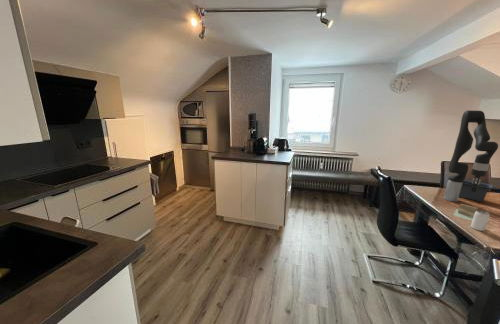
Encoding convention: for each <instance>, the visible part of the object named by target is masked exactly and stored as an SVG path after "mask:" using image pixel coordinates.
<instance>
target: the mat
mask: <svg viewBox="0 0 500 324" xmlns="http://www.w3.org/2000/svg"><path fill="white" fill-rule="evenodd" d="M458 210H459V208H456V209H455V211H454V213H453V215H452V216H453V217H458V218H460V219H465V220H469V221H471V222H472V220H473V217H472V216H468V215H464V214H461V213H458Z"/></svg>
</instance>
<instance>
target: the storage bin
mask: <svg viewBox="0 0 500 324" xmlns="http://www.w3.org/2000/svg"><path fill="white" fill-rule="evenodd" d="M472 182H473V180H468V179H464V181H463V185H462V188H461V192H460V195H459V198H463V199H467V200H472V201H475V202H476V201H477V202H479V203H481V202H482V203H483V202H484V200H485V199H486V196H487V194H488V191H490V190H491V189H492V188H493V185H492V184H489V183H486V182H485V183H484V182H480V183H479V185H478V187H477V189H476V192H472V191H471V190H472V185H473V184H472Z"/></svg>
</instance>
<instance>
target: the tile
mask: <svg viewBox="0 0 500 324" xmlns="http://www.w3.org/2000/svg"><path fill="white" fill-rule="evenodd" d="M458 209H459V210H458V213H461V214H464V215H468V216H472V217H474V214H475V212H476V211H477V210H479V208H478V207H476V206H472V205H467V204H463V203H460V204H459V207H458Z"/></svg>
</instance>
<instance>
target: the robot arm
mask: <svg viewBox="0 0 500 324" xmlns="http://www.w3.org/2000/svg"><path fill="white" fill-rule="evenodd" d="M462 113H463V114H462V116H461V120H460V127H459V132H458V135H457V139H456V142H455V146H454V149H453V150H454V151H453V154H452V157H451V159H450V161H449V164H448V172H449V173H452V174H455V175H450V176H448V180H447V181H446V182H447V183H446V186H445V191H444V194H443V199H444V200H446V201H447V202H448V201H449V202H455V203H456V202H459V198H460V197H459V195H460V192H461V188H462V185H463V181H464V180H466V176H467V173H468V171H469V164H468V163H466V162H459V161H460V159H461V157H462V156H463V155H465V154H466V153H468V152H469V151H470V149H471V148H472V146H473V144H474V143H473V142H474V139H475V145H474V147H475V150H477V151H478V152H484V153H481V154H480V153H479V154H477V155H476V156H475V159H474V163H473V165H472V169H471V171H470V174H471V176H473V178H472V181H473V182H472V184H473V185H472V190H471V191H472V192H476V189H477V187H478V185H479V183H481V182H482V181H481V180H482V178H483V177H486V176H487V173H488V171H489V166H490V162H491V159H492V157H493V156H494V154H495V153H496V152H497V150H498V149H499V144H498V142H497V141H496V142H495V141H490V140H491V136H490V133H489V131H488V128H487V122H486V116H485V113H484V111H482V110H465V111H464V112H462ZM469 123H470V124H471V123H472V124H473V123H474V124H475V123H476V124H477V126H476V127H475V129H474V130H473V136H472V133H471V131H470V129H469Z"/></svg>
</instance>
